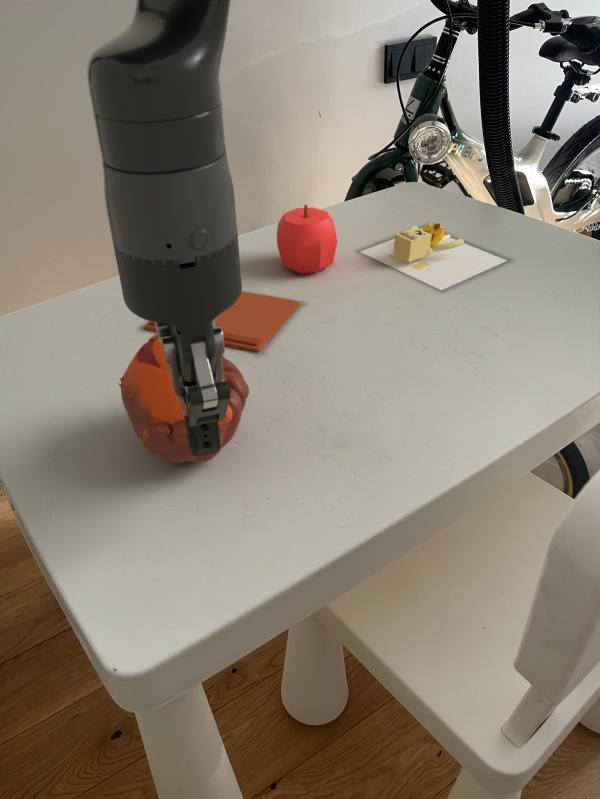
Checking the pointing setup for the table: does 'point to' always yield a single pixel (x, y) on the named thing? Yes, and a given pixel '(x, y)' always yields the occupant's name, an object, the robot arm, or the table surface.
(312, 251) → the apple
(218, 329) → the robot arm
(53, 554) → the table surface
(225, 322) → the book
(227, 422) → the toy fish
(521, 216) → the table surface
